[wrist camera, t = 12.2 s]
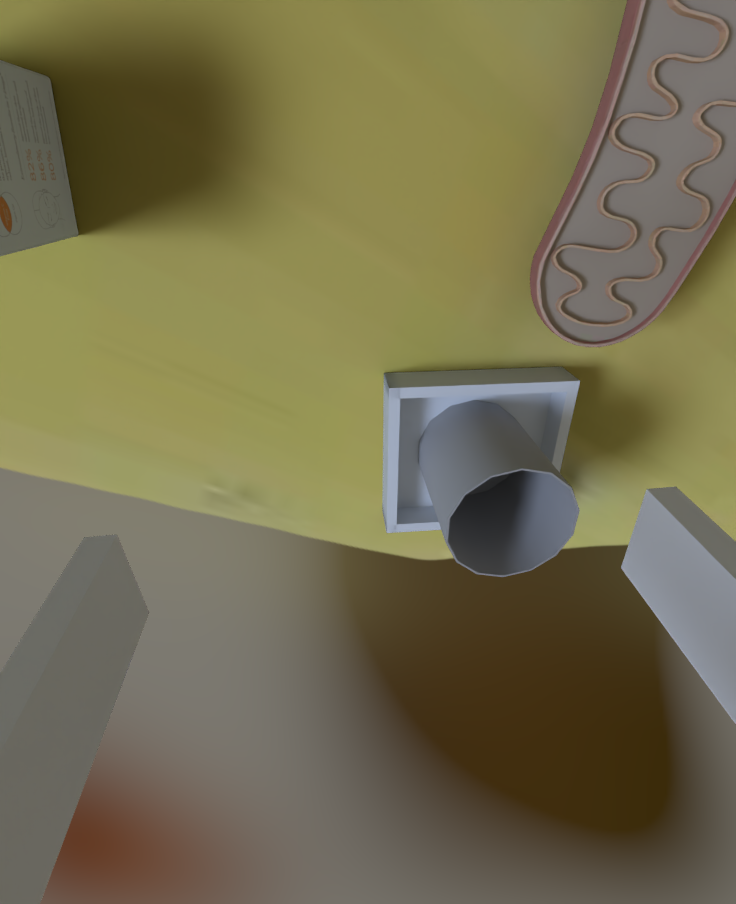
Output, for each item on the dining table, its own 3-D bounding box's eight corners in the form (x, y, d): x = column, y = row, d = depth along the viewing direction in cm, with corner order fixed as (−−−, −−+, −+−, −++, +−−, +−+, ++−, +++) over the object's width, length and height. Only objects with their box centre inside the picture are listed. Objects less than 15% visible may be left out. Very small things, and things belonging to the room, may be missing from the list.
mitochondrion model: (641, -148, 24) (713, -221, 19) (806, -82, 25) (906, -135, 21) (491, 314, 34) (515, 333, 30) (614, 339, 36) (654, 360, 32)
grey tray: (384, 373, 36) (388, 388, 33) (561, 366, 37) (580, 380, 34) (382, 510, 42) (386, 532, 39) (534, 502, 43) (548, 523, 40)
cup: (541, 438, 39) (605, 513, 30) (471, 507, 41) (510, 593, 33) (466, 379, 36) (513, 444, 27) (396, 458, 38) (418, 539, 30)
